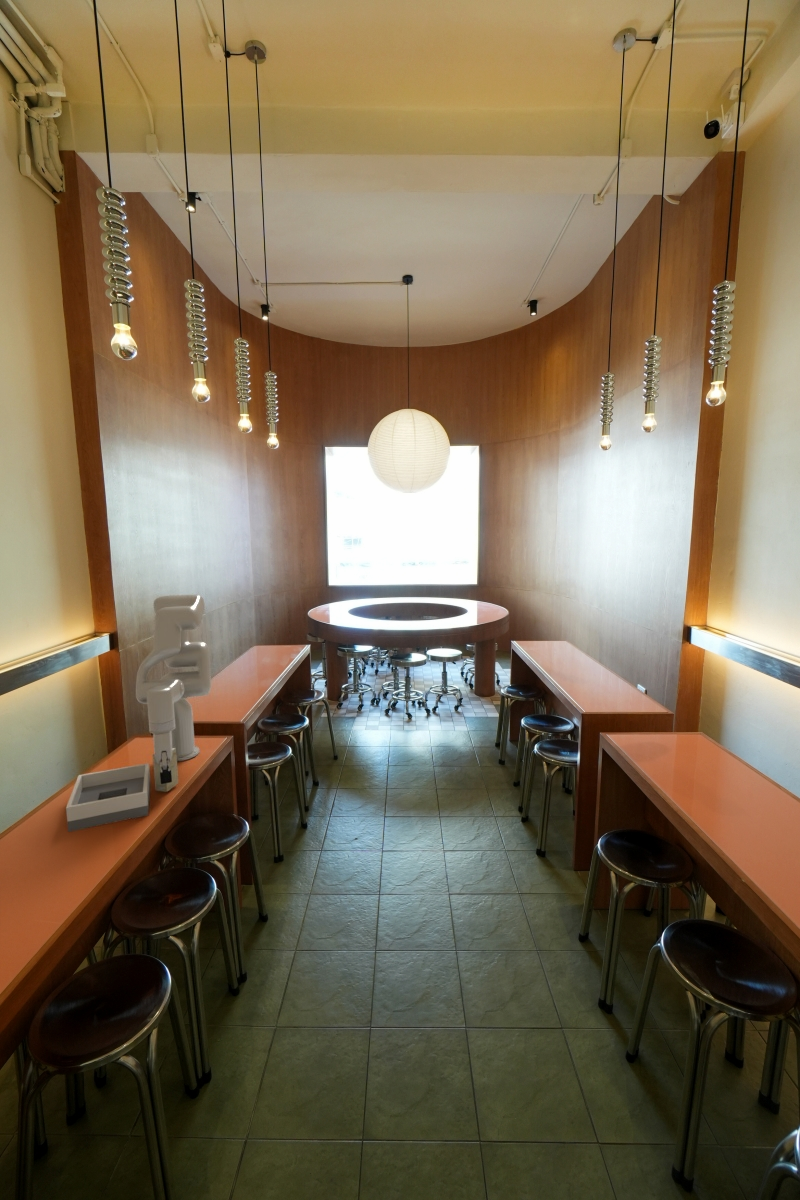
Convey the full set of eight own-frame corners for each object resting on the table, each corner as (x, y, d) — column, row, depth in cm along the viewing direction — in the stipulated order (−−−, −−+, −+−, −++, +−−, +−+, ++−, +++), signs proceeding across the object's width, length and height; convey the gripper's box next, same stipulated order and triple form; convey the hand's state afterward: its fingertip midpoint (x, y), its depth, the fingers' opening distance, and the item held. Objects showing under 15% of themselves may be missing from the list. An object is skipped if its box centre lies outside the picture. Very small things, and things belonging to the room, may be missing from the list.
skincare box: (167, 792, 163) (164, 756, 161) (154, 791, 164) (151, 755, 162) (179, 782, 169) (176, 747, 168) (167, 781, 170) (164, 746, 168)
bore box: (80, 796, 163) (78, 775, 162) (150, 783, 171) (148, 763, 170) (68, 831, 143) (66, 808, 142) (148, 815, 151) (146, 792, 151)
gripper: (150, 717, 170) (154, 768, 173) (148, 737, 154) (152, 792, 157) (174, 714, 173) (178, 763, 176) (175, 732, 157) (179, 787, 160)
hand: (166, 776), depth 166 cm, fingers closed on skincare box, 7 cm apart
